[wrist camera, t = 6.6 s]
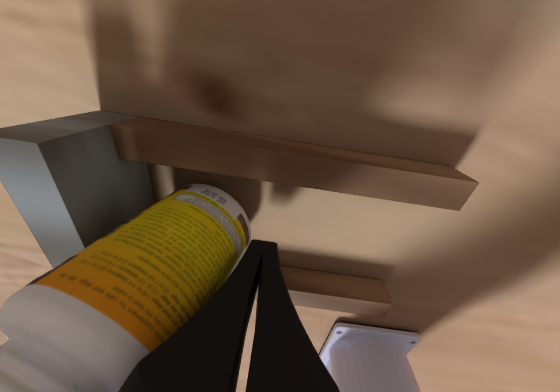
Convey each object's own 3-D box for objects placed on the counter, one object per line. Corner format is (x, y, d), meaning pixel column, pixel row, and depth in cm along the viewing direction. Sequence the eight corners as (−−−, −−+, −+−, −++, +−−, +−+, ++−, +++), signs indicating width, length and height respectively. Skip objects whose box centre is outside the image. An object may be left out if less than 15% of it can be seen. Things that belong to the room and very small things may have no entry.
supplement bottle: (185, 161, 12) (-255, 377, 3) (269, 212, 12) (62, 560, 3) (169, 225, 15) (-80, 426, 6) (236, 265, 15) (83, 521, 6)
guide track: (374, 292, 17) (402, 366, 13) (141, 259, 16) (87, 325, 12) (450, 166, 11) (547, 222, 7) (99, 110, 11) (-29, 133, 7)
